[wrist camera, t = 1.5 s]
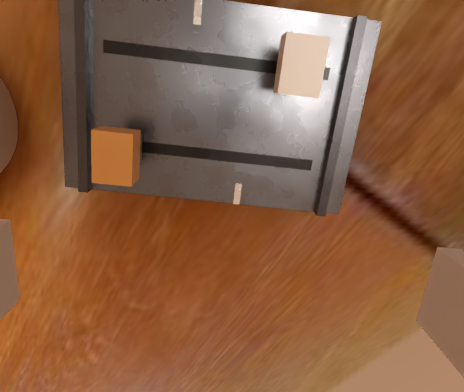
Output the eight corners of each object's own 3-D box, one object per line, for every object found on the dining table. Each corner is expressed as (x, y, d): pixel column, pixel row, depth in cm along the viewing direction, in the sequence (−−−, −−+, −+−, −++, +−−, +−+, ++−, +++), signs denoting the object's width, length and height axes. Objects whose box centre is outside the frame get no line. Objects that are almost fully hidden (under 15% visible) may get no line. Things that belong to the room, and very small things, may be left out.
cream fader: (275, 40, 28) (286, 31, 23) (311, 45, 28) (330, 37, 23) (268, 91, 29) (277, 93, 24) (302, 95, 30) (319, 98, 24)
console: (68, -16, 29) (51, -26, 26) (371, 25, 30) (387, 19, 27) (74, 180, 34) (60, 189, 31) (332, 207, 35) (341, 217, 32)
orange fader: (113, 121, 30) (90, 129, 25) (148, 125, 30) (133, 134, 25) (113, 166, 31) (91, 182, 26) (146, 169, 31) (131, 186, 26)
